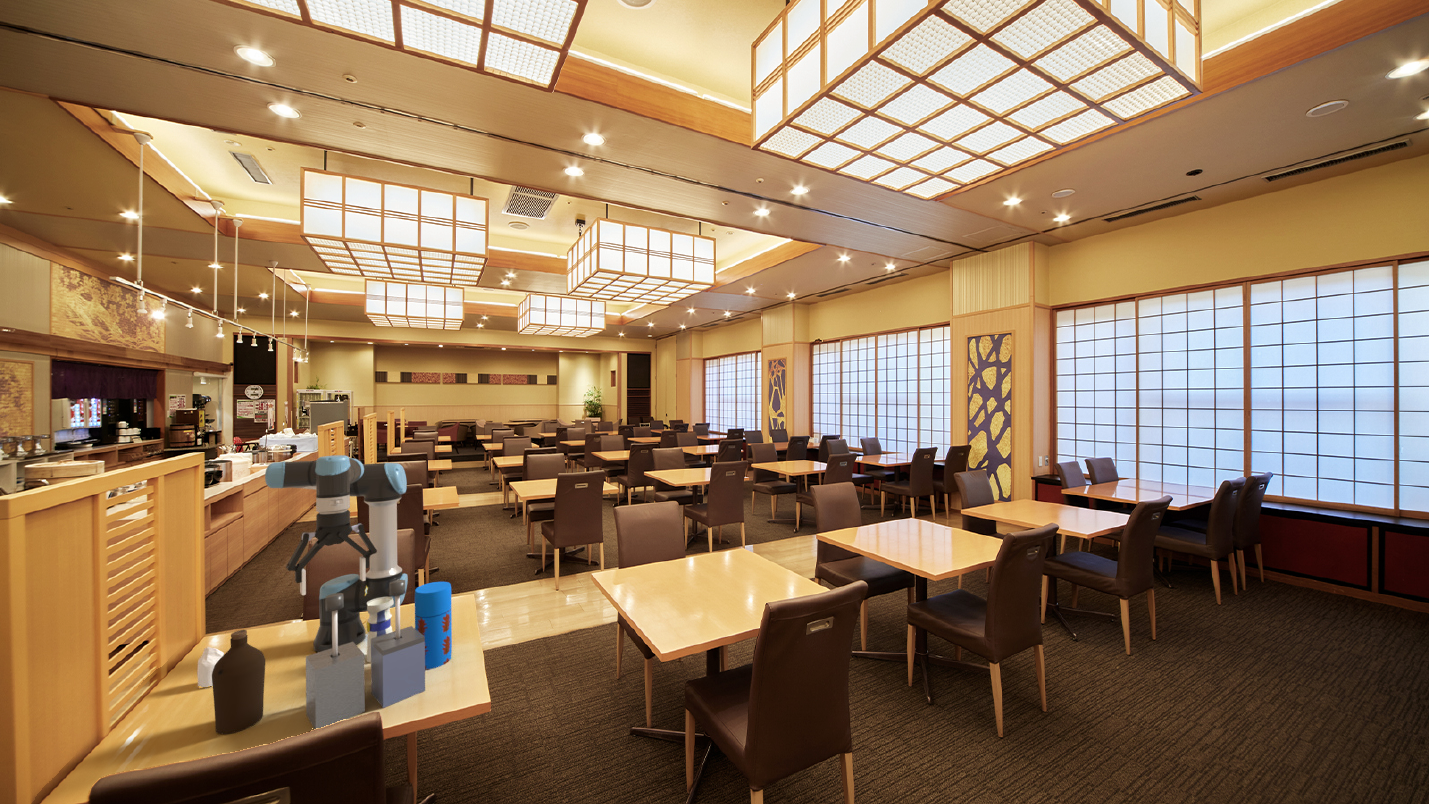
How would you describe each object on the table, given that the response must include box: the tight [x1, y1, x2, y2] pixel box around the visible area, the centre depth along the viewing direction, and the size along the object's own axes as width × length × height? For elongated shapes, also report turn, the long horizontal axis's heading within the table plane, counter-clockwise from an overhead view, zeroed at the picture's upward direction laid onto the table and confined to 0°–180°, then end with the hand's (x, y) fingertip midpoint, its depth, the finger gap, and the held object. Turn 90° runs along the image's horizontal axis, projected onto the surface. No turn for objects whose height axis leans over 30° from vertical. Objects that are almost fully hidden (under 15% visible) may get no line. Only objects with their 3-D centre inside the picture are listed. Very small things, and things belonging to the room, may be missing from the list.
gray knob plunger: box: [389, 580, 406, 640], centre depth 150 cm, size 8×8×20 cm
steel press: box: [305, 642, 366, 730], centre depth 141 cm, size 15×11×16 cm
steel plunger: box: [326, 593, 343, 658], centre depth 140 cm, size 8×8×20 cm
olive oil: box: [212, 629, 266, 735], centre depth 136 cm, size 11×11×25 cm
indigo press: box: [370, 625, 426, 709], centre depth 151 cm, size 15×11×16 cm
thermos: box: [414, 581, 453, 670], centre depth 168 cm, size 11×11×25 cm
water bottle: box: [365, 586, 394, 664], centre depth 171 cm, size 8×9×25 cm
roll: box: [196, 646, 225, 687], centre depth 155 cm, size 6×12×6 cm
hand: (333, 586), depth 139 cm, fingers open, 13 cm apart
